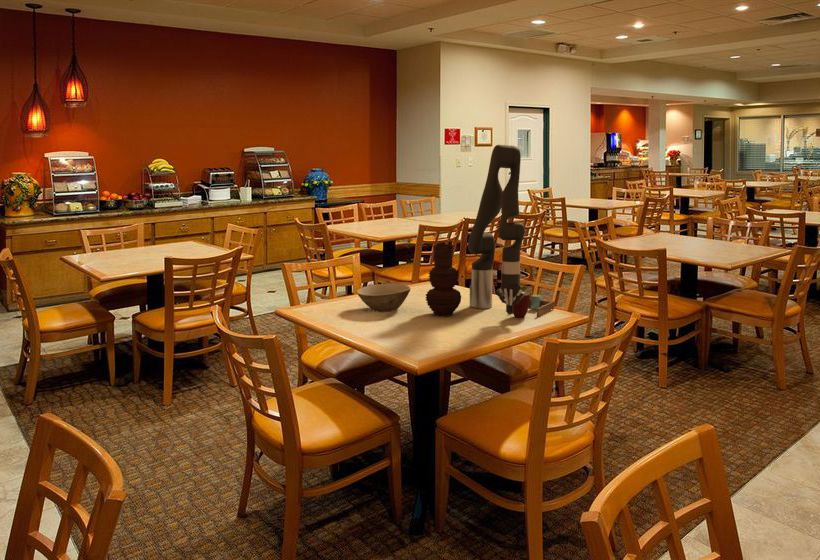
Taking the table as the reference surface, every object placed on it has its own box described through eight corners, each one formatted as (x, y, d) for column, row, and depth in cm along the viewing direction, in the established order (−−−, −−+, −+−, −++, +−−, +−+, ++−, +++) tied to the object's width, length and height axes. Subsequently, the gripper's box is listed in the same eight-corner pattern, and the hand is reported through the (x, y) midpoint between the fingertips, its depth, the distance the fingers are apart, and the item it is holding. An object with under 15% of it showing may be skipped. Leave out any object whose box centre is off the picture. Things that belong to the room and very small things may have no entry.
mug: (527, 321, 282) (528, 297, 281) (508, 319, 284) (508, 296, 283) (530, 315, 292) (530, 292, 291) (511, 314, 294) (511, 291, 293)
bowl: (347, 313, 298) (347, 291, 296) (371, 302, 320) (370, 281, 318) (397, 318, 290) (397, 294, 288) (418, 306, 311) (418, 284, 309)
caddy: (510, 313, 296) (510, 305, 295) (526, 305, 310) (526, 298, 309) (538, 317, 289) (538, 308, 288) (553, 309, 303) (554, 301, 302)
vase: (417, 314, 295) (417, 245, 289) (441, 308, 306) (441, 241, 300) (445, 320, 284) (445, 248, 279) (468, 314, 295) (469, 244, 290)
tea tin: (530, 309, 303) (531, 296, 302) (534, 307, 307) (534, 294, 305) (539, 310, 301) (539, 297, 300) (542, 308, 304) (543, 295, 303)
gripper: (491, 271, 278) (491, 313, 281) (521, 274, 271) (520, 317, 274) (500, 269, 284) (499, 309, 287) (529, 272, 277) (528, 313, 280)
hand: (509, 313), depth 281 cm, fingers closed
